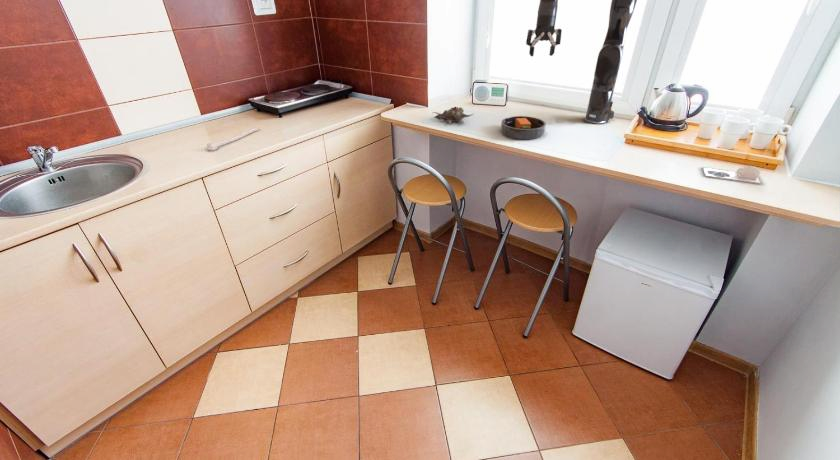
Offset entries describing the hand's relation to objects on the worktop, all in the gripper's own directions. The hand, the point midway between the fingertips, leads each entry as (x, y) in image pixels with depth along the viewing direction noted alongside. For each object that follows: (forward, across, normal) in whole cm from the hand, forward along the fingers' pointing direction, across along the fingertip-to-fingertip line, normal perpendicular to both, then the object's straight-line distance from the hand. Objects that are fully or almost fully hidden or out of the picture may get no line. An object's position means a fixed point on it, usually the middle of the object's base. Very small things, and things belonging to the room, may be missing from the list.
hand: (541, 55), depth 170 cm
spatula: (+28, -137, -12) cm, 140 cm away
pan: (+28, -10, -18) cm, 35 cm away
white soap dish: (+28, +47, -68) cm, 87 cm away
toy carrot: (+28, -10, -18) cm, 34 cm away
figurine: (+28, -38, +4) cm, 48 cm away
